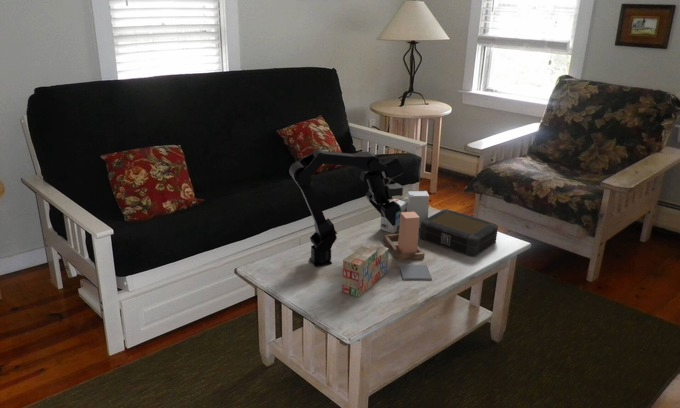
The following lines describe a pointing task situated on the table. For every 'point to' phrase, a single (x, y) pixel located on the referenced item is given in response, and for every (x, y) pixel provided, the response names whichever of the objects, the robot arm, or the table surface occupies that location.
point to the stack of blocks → (364, 269)
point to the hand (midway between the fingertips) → (388, 220)
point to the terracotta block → (408, 232)
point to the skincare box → (418, 204)
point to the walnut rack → (396, 252)
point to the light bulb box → (387, 225)
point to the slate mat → (415, 272)
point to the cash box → (459, 232)
